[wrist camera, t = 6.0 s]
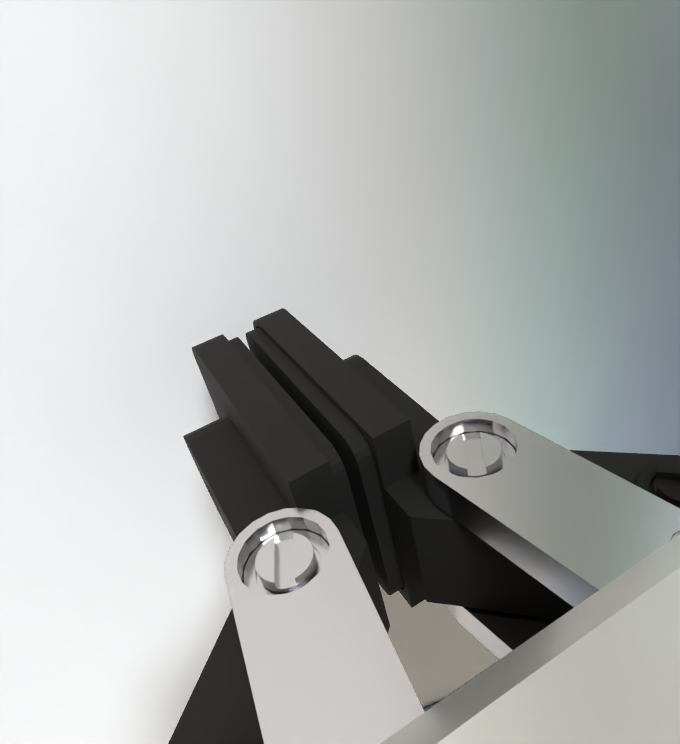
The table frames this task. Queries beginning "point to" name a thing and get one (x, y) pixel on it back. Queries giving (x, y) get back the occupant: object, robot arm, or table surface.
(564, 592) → the robot arm
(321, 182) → the table surface
